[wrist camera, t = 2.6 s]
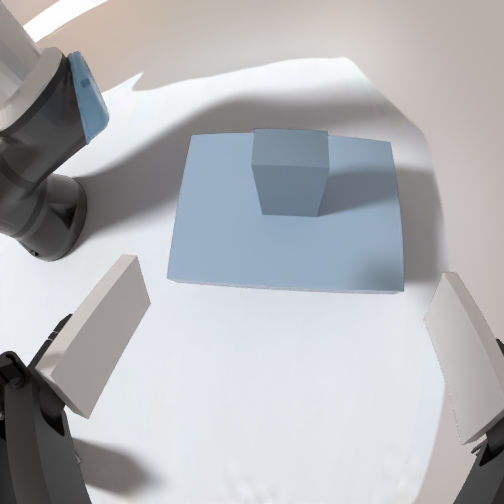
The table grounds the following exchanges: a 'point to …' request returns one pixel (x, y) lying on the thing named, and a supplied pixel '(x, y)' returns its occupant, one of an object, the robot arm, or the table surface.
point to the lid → (289, 213)
